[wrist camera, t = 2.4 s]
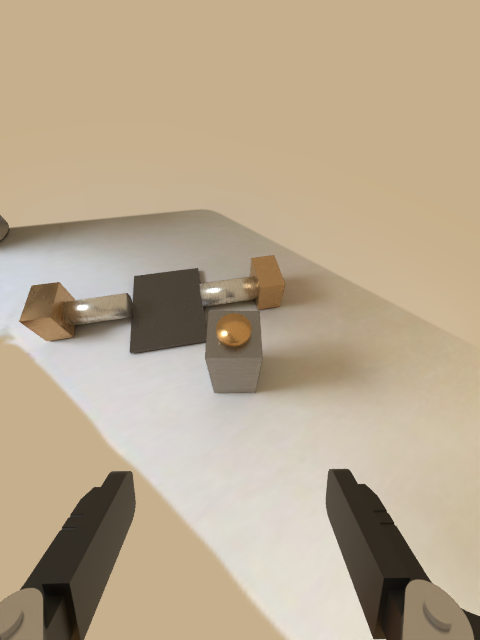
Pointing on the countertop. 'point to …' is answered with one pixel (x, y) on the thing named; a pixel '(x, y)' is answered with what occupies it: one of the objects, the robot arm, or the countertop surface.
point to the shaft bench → (153, 305)
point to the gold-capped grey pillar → (233, 350)
